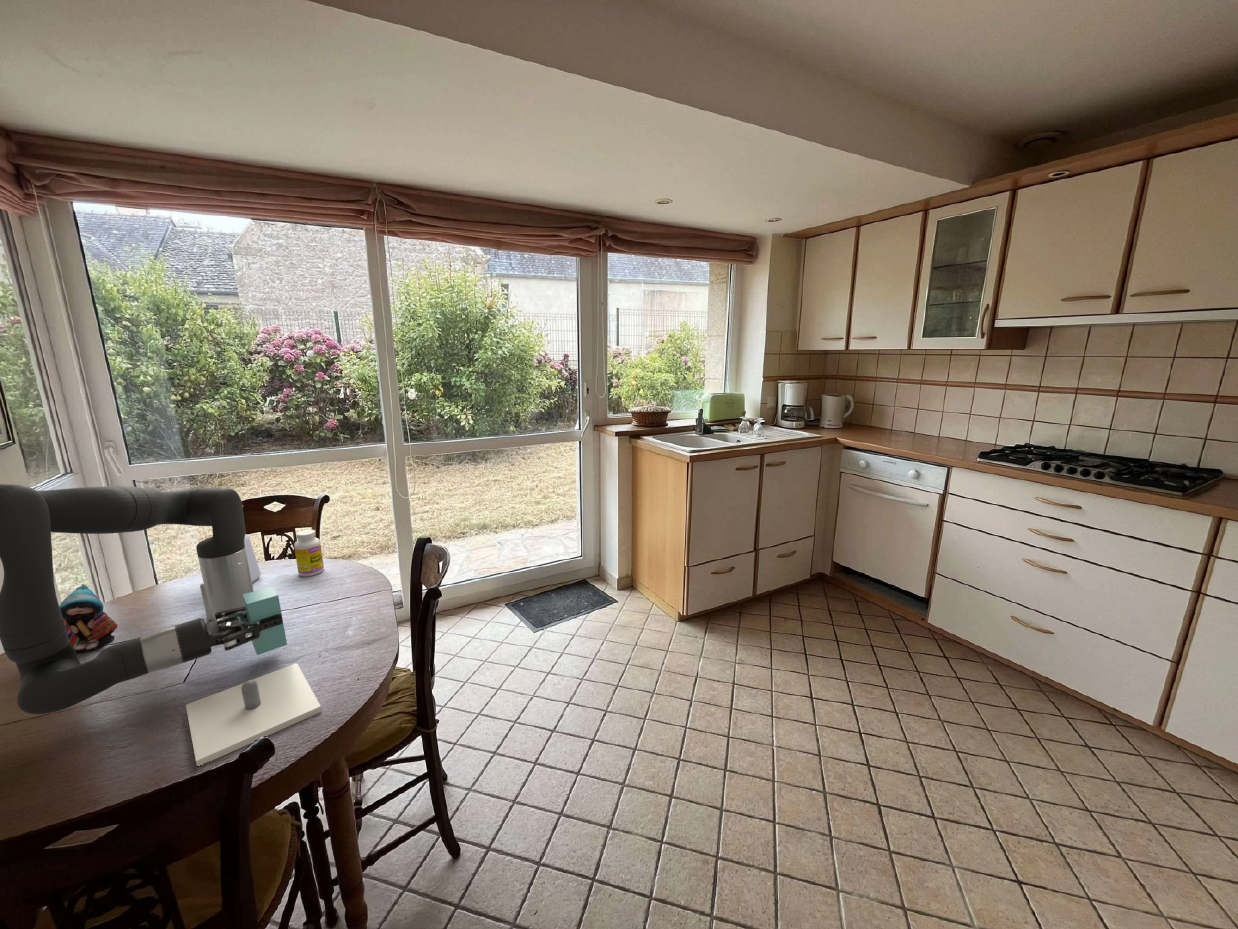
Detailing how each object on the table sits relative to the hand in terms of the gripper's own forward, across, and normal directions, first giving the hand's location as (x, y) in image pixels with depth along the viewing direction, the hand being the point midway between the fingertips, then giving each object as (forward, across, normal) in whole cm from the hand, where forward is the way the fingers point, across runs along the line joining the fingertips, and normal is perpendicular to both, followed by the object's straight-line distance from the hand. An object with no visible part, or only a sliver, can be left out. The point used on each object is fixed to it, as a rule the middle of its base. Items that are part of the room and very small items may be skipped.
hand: (278, 613), depth 108 cm
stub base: (-8, -17, +10) cm, 22 cm away
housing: (-3, 0, +7) cm, 7 cm away
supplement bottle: (+15, +41, +11) cm, 45 cm away
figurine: (-31, +32, +10) cm, 46 cm away
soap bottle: (-1, +49, +11) cm, 50 cm away
